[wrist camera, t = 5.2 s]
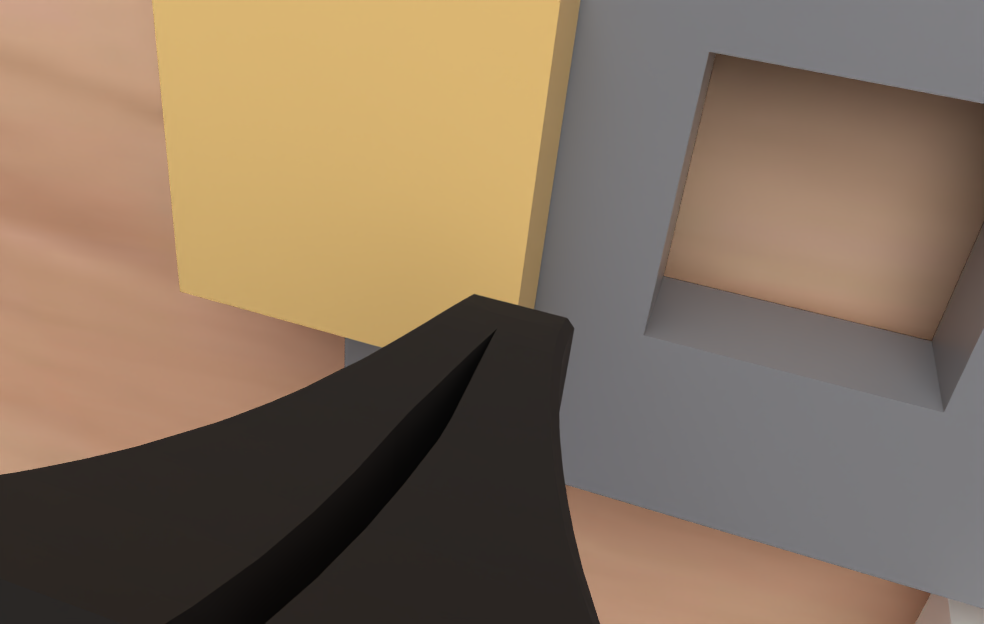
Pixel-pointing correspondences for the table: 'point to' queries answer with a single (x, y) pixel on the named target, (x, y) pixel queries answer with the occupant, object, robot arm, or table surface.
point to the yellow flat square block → (362, 153)
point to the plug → (949, 612)
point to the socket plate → (757, 308)
